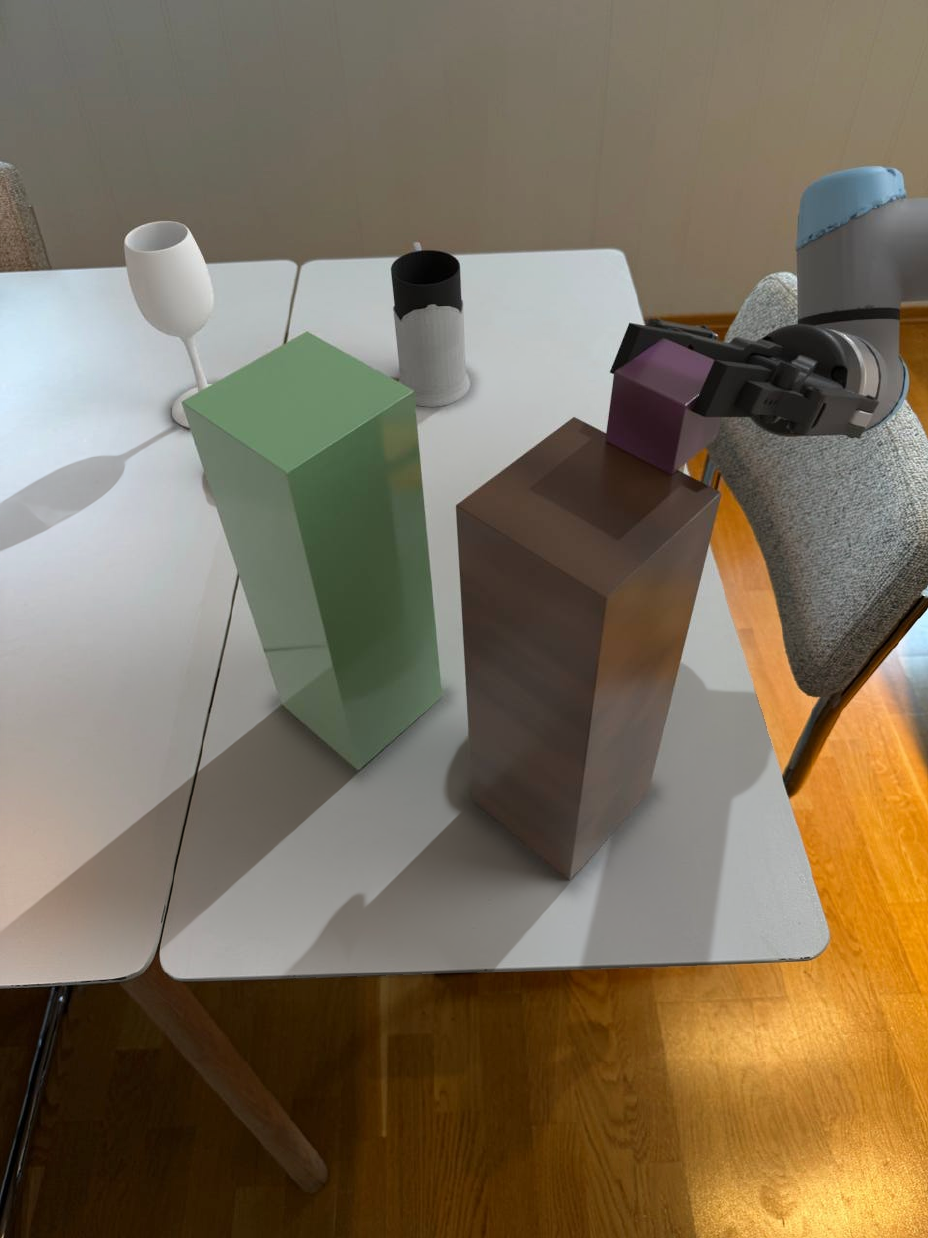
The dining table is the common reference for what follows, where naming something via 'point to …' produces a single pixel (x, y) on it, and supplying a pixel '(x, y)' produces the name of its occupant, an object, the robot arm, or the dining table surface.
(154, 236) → the wineglass
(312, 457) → the green stand
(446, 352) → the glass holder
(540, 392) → the dining table surface
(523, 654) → the stand
